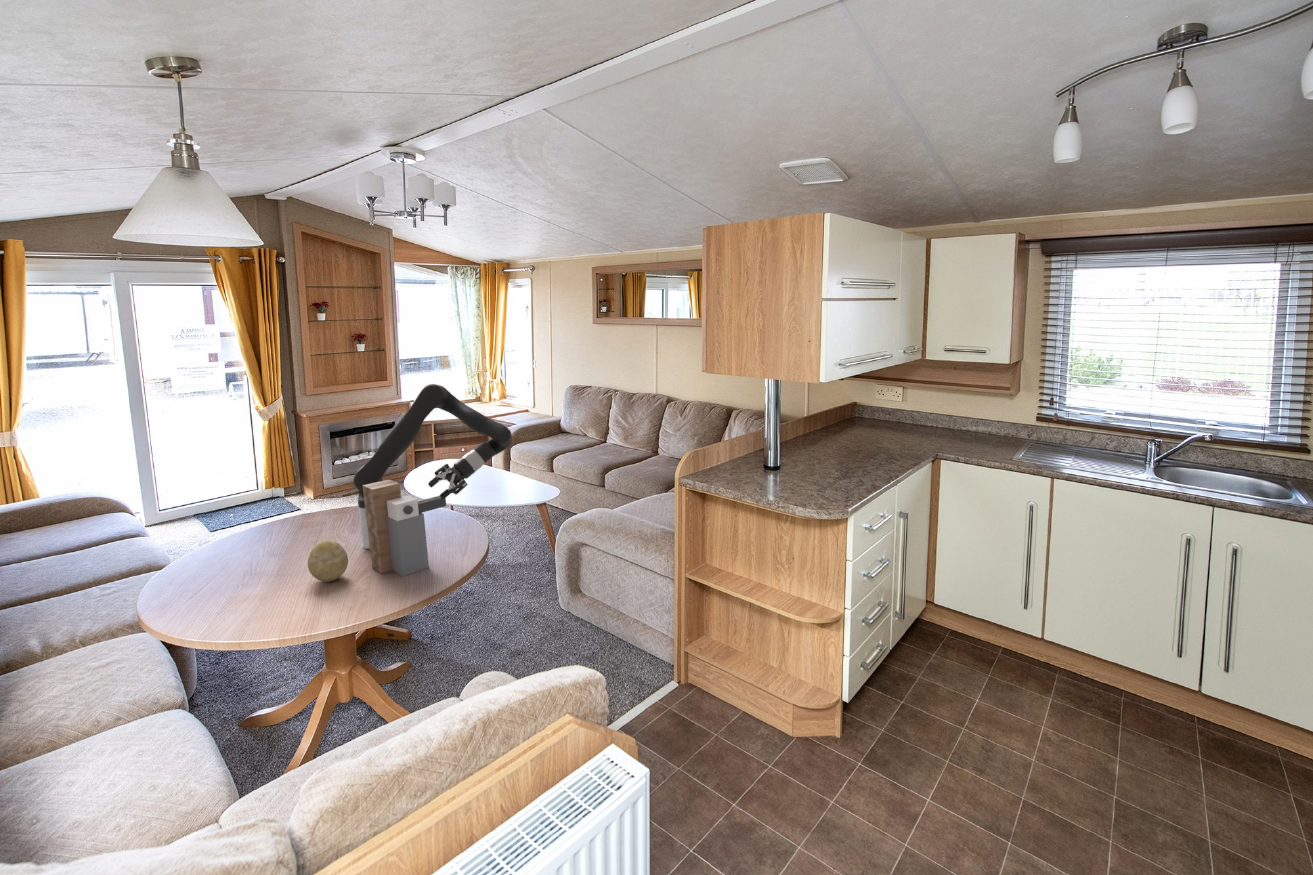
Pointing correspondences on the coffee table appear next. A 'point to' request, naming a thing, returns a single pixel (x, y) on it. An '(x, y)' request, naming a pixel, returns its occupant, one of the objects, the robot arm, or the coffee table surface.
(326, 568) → the fossilized egg
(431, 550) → the coffee table surface
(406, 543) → the grey rectangular block
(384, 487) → the walnut post
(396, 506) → the action camera
